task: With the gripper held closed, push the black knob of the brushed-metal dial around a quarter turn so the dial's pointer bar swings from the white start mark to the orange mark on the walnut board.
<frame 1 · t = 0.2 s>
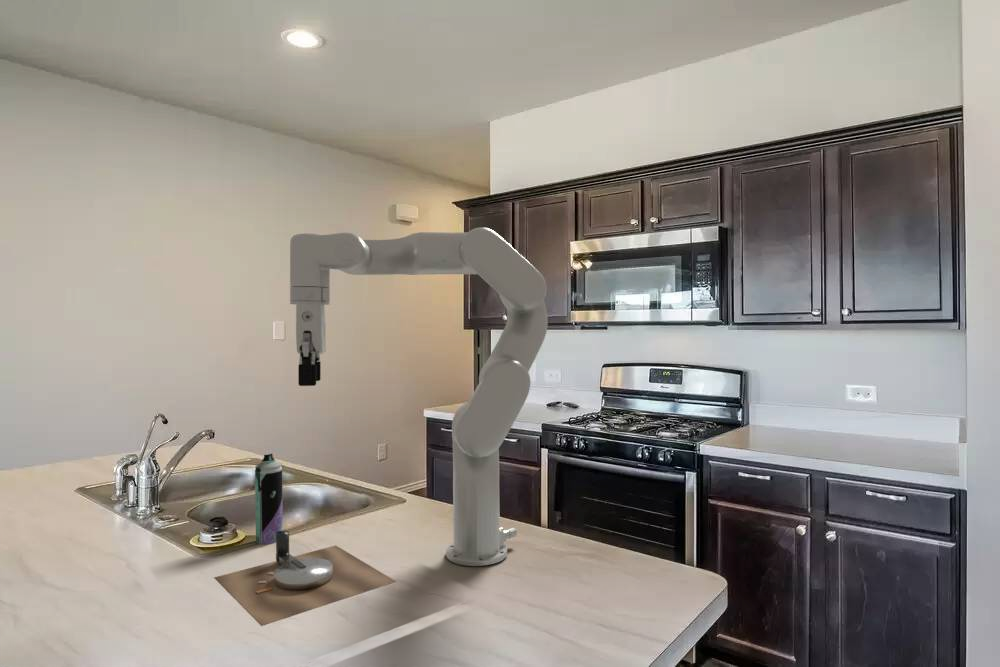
hand: (309, 383, 122), 36 cm above the worktop, tool pointing down, fingers open, 9 cm apart
spray can: (269, 547, 132), on the worktop
board: (304, 587, 111), on the worktop
dial: (297, 557, 113), point 5 cm above the worktop, hinge at 0.0°
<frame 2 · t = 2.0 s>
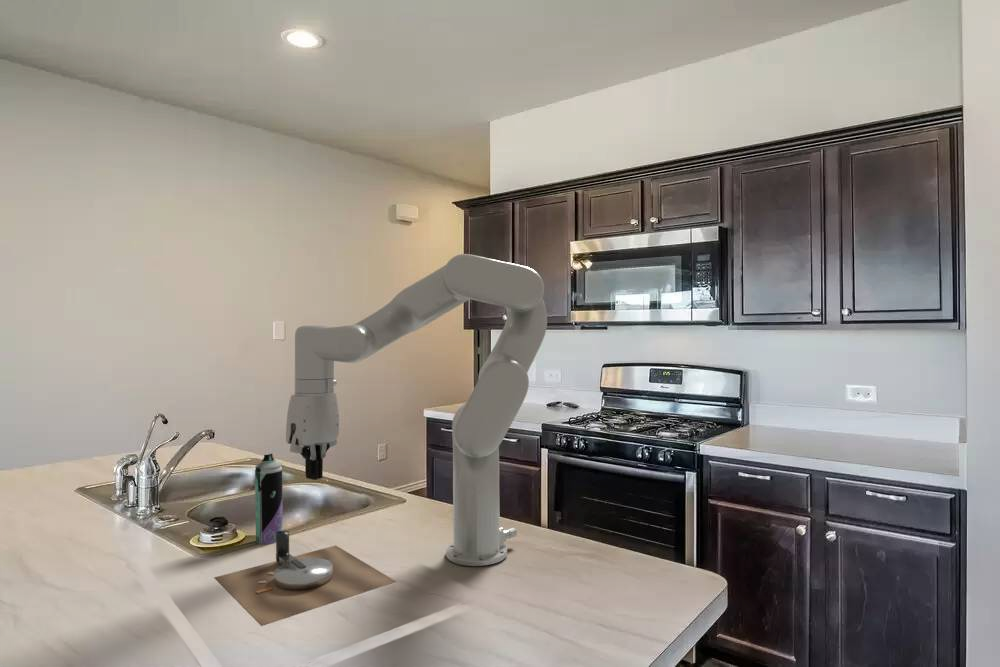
hand: (314, 478, 123), 17 cm above the worktop, tool pointing down, fingers closed
nothing on the worktop moved.
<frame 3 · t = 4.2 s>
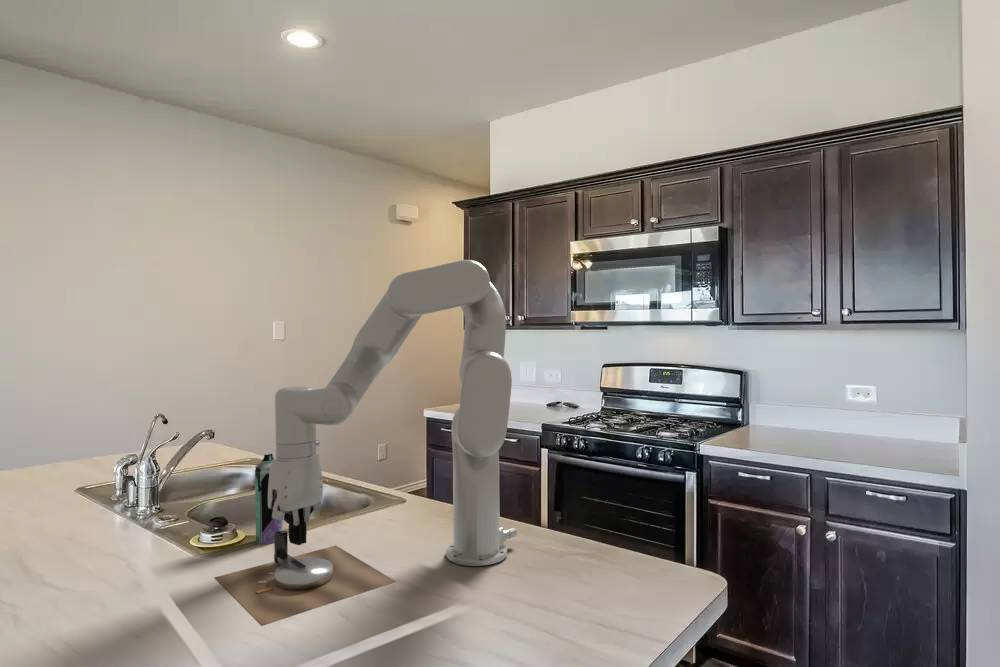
hand: (297, 542, 120), 5 cm above the worktop, tool pointing down, fingers closed
dial: (296, 557, 113), point 5 cm above the worktop, hinge at 2.0°, touching gripper
everything else where it was.
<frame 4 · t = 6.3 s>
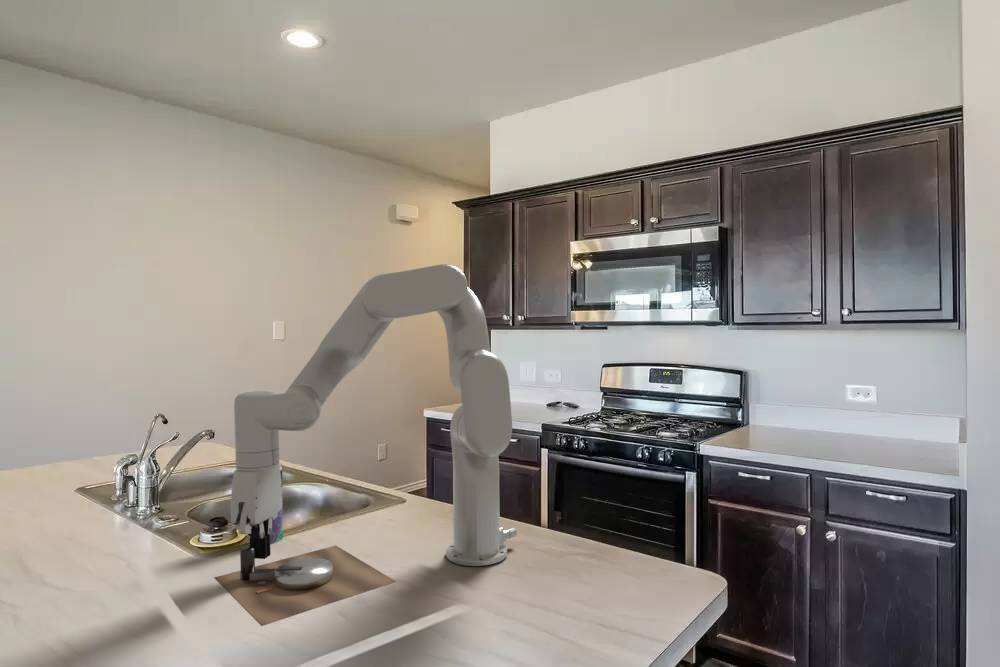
hand: (260, 556, 114), 5 cm above the worktop, tool pointing down, fingers closed
dial: (286, 562, 111), point 5 cm above the worktop, hinge at 53.0°, touching gripper
everything else where it was.
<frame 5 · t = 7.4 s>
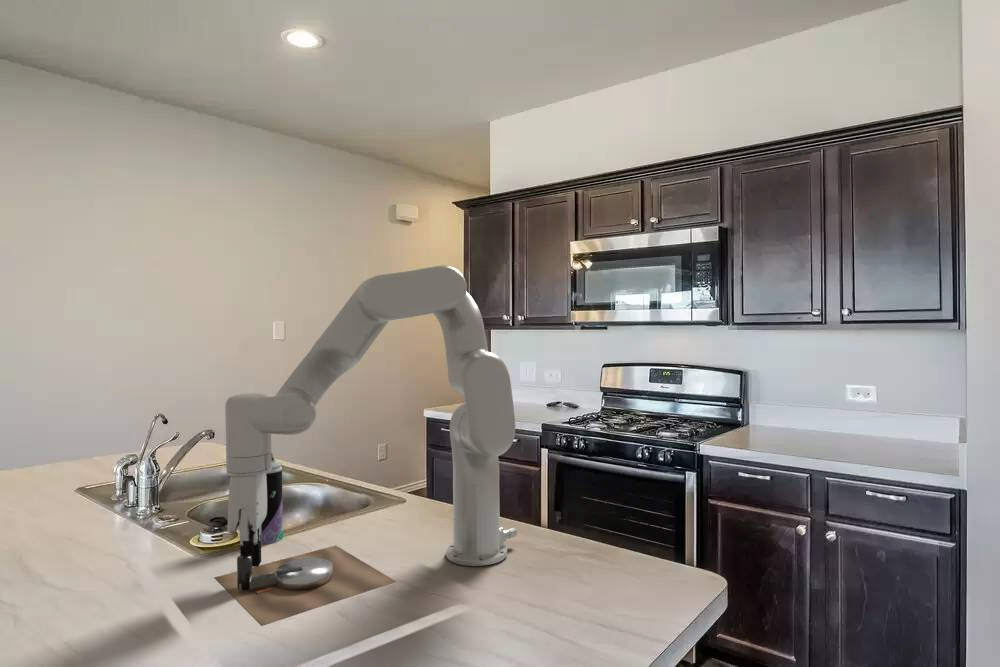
hand: (251, 564, 110), 5 cm above the worktop, tool pointing down, fingers closed
dial: (286, 565, 110), point 5 cm above the worktop, hinge at 76.5°, touching gripper
everything else where it was.
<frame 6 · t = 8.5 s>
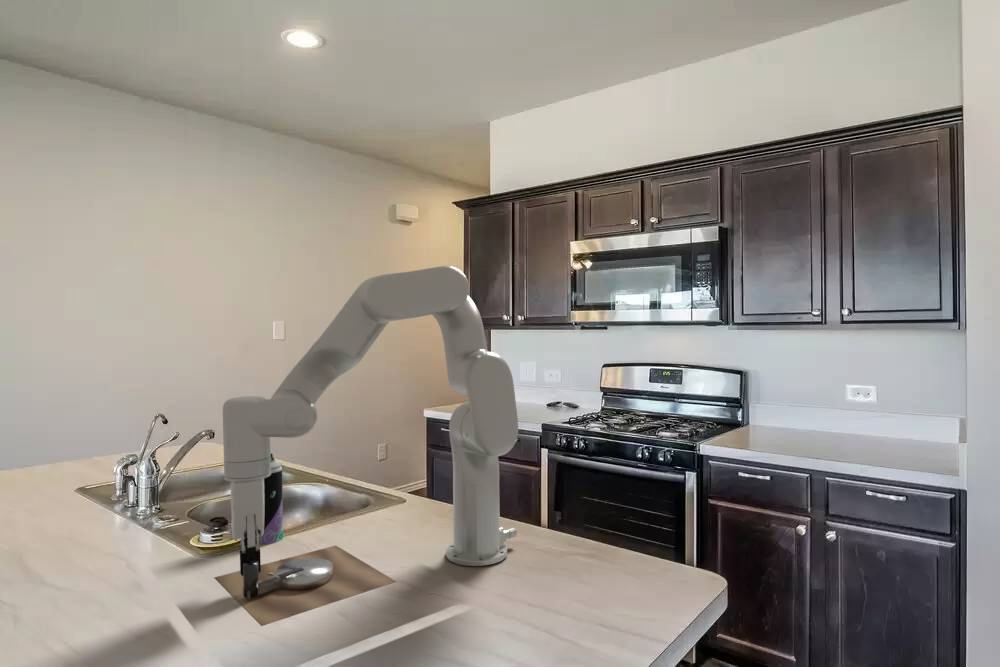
hand: (250, 572, 107), 5 cm above the worktop, tool pointing down, fingers closed
dial: (288, 567, 109), point 5 cm above the worktop, hinge at 97.7°, touching gripper
everything else where it was.
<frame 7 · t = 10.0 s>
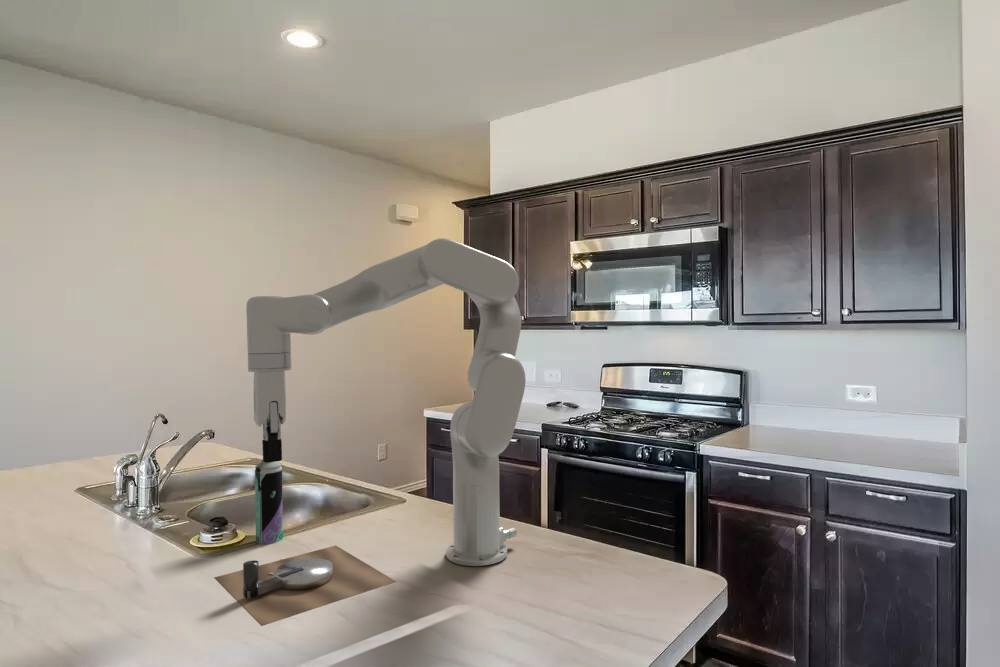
hand: (272, 460, 114), 22 cm above the worktop, tool pointing down, fingers closed
dial: (288, 567, 109), point 5 cm above the worktop, hinge at 97.9°
everything else where it was.
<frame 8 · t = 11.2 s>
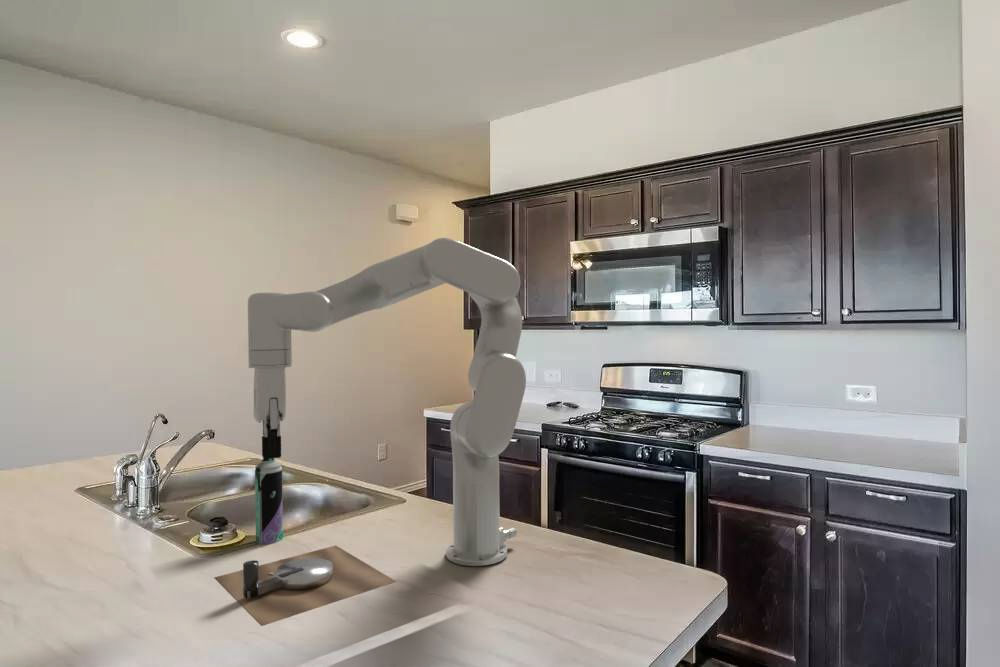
hand: (271, 457, 114), 23 cm above the worktop, tool pointing down, fingers closed
nothing on the worktop moved.
at the end: dial at +98° (first picture: +0°) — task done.
